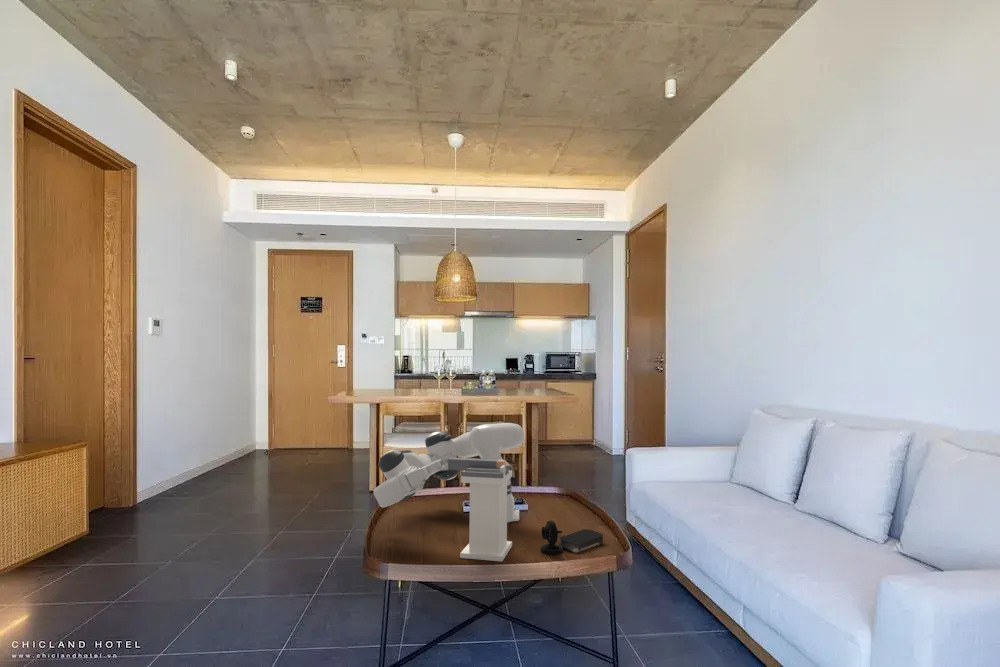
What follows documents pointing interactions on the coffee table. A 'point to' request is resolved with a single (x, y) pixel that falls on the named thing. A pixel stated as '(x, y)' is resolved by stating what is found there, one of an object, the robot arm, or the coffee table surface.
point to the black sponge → (581, 540)
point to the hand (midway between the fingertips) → (445, 460)
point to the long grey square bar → (474, 463)
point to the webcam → (551, 538)
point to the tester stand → (487, 513)
